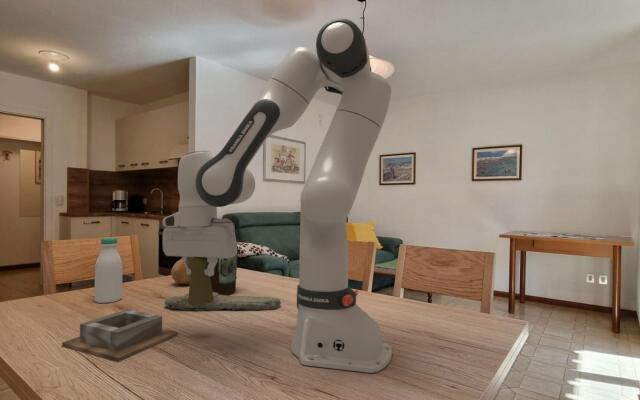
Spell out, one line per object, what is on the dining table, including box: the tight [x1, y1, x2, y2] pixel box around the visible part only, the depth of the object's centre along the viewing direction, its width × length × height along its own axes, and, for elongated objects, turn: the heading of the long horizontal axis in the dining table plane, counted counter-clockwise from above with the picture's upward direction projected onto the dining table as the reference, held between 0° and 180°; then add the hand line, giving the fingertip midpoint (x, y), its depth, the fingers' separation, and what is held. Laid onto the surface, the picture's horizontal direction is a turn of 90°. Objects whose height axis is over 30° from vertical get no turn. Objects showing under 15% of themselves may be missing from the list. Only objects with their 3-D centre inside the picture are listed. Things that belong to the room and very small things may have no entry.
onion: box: [170, 258, 191, 286], centre depth 140 cm, size 10×10×10 cm
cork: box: [188, 257, 214, 305], centre depth 89 cm, size 6×6×11 cm
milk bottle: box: [94, 237, 123, 304], centre depth 118 cm, size 8×8×20 cm
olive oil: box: [210, 245, 239, 296], centre depth 130 cm, size 11×11×25 cm
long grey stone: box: [164, 292, 282, 312], centre depth 113 cm, size 35×5×10 cm
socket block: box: [61, 309, 179, 363], centre depth 85 cm, size 18×16×5 cm
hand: (200, 275), depth 89 cm, fingers closed on cork, 4 cm apart
